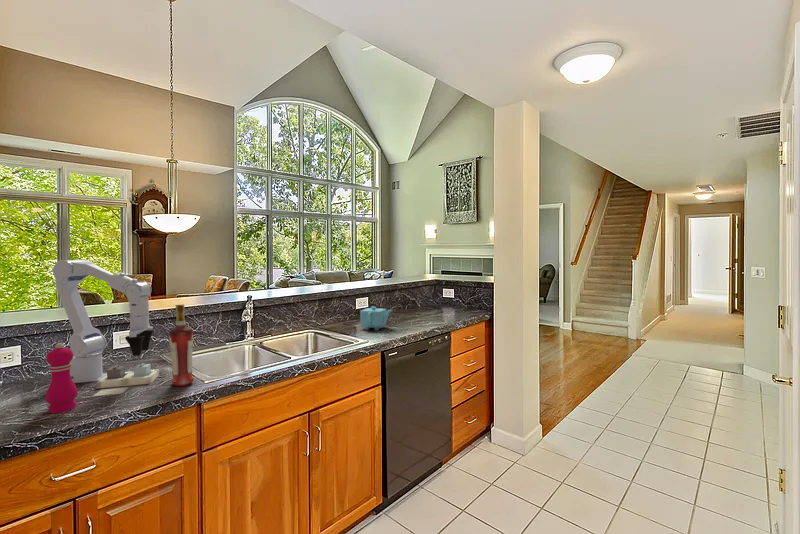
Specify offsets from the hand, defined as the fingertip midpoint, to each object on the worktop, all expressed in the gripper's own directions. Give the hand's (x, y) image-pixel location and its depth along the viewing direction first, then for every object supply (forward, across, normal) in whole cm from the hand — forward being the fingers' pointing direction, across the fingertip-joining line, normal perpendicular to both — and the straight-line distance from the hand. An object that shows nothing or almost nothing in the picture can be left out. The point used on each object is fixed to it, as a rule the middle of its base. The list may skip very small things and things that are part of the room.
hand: (140, 352), depth 142 cm
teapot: (+10, +60, -102) cm, 119 cm away
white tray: (+10, -2, +3) cm, 10 cm away
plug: (+9, -2, -1) cm, 10 cm away
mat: (+10, -12, +5) cm, 16 cm away
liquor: (+10, -11, -16) cm, 22 cm away
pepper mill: (+10, -24, +13) cm, 29 cm away
